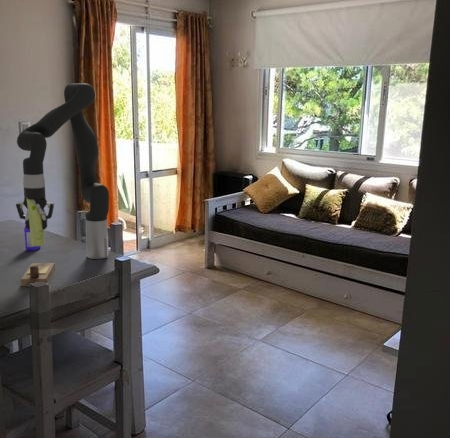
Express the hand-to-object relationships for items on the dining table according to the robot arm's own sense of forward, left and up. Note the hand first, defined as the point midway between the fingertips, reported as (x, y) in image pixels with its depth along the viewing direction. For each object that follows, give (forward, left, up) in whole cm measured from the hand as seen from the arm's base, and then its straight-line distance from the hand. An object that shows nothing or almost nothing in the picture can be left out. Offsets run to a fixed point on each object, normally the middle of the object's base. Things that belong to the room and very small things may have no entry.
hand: (36, 228), depth 186 cm
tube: (0, 0, -7) cm, 7 cm away
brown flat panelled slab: (0, +1, -20) cm, 20 cm away
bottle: (+10, -37, -20) cm, 43 cm away
